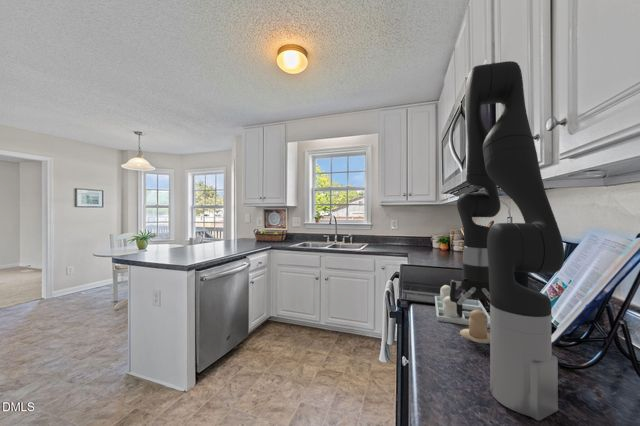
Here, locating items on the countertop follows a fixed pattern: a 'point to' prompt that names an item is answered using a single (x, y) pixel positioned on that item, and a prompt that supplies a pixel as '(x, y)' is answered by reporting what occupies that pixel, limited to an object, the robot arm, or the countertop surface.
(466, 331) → the birch coaster
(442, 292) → the cream egg
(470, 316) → the brown egg
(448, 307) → the cream egg
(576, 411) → the countertop surface
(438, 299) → the egg carton
